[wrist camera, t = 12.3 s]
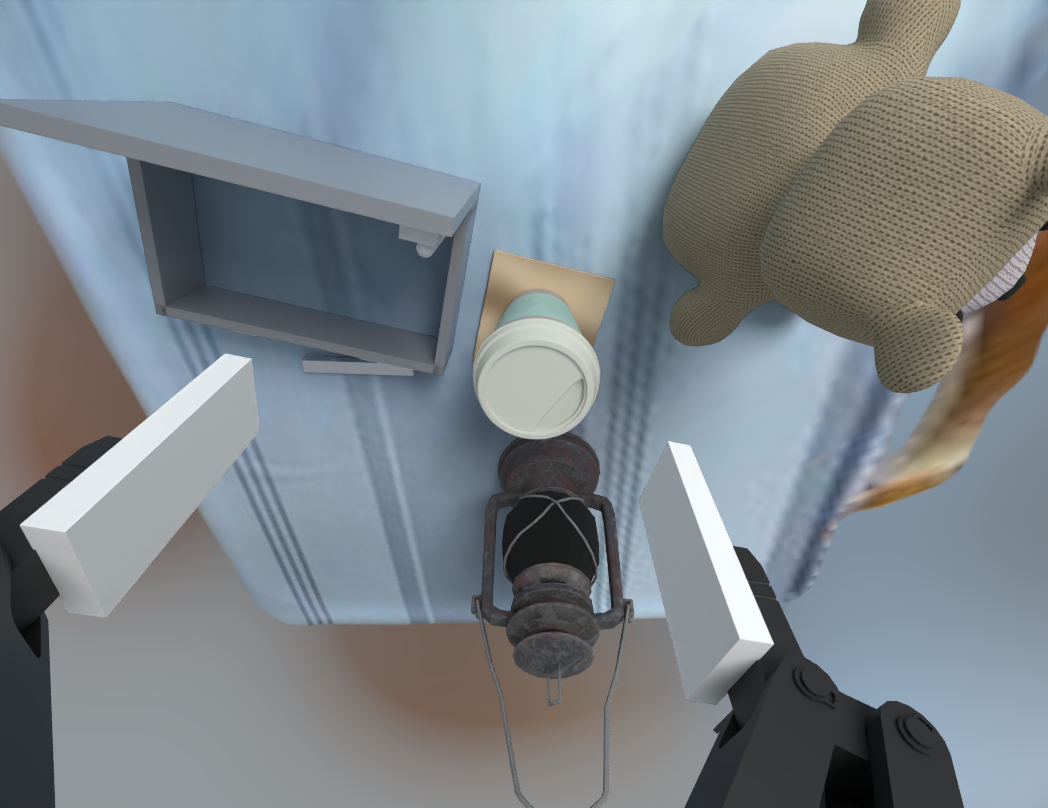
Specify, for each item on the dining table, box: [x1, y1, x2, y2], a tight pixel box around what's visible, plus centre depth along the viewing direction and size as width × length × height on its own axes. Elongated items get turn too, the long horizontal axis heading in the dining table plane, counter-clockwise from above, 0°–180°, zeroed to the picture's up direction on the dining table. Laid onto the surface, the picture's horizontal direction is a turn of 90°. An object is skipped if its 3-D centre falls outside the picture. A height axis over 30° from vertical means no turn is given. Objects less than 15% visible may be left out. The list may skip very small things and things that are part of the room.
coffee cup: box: [473, 288, 600, 439], centre depth 35 cm, size 8×9×12 cm
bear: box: [662, 0, 1048, 393], centre depth 24 cm, size 21×16×25 cm
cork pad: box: [473, 250, 615, 361], centre depth 41 cm, size 10×10×1 cm
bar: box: [301, 356, 415, 376], centre depth 43 cm, size 10×1×1 cm, turn 88°
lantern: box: [471, 432, 634, 808], centre depth 37 cm, size 12×11×30 cm
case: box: [0, 99, 481, 376], centre depth 32 cm, size 15×22×13 cm, turn 77°
